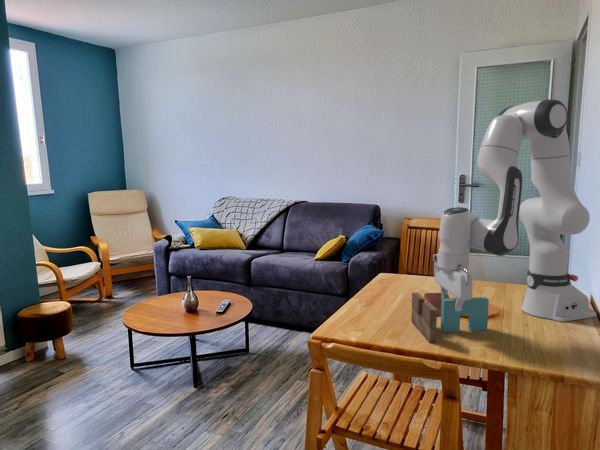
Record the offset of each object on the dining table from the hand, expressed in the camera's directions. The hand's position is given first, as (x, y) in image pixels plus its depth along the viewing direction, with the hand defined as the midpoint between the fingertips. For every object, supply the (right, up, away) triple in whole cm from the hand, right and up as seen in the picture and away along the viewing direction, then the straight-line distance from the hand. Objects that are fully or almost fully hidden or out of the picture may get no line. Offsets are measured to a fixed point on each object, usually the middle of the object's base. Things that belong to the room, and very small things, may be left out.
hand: (451, 305), depth 132 cm
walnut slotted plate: (-9, -8, +1) cm, 12 cm away
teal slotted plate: (+4, -8, +2) cm, 9 cm away
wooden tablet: (+5, -5, +25) cm, 26 cm away
